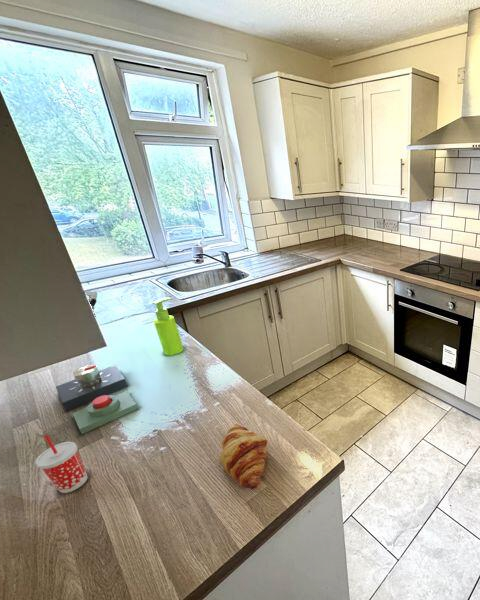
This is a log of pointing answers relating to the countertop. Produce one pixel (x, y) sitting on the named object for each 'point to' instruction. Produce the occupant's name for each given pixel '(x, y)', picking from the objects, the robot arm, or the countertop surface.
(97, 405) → the button
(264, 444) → the croissant
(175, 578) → the countertop surface
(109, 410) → the button block
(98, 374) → the dial
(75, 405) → the dial panel
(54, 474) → the beverage cup
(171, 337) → the soap dispenser
